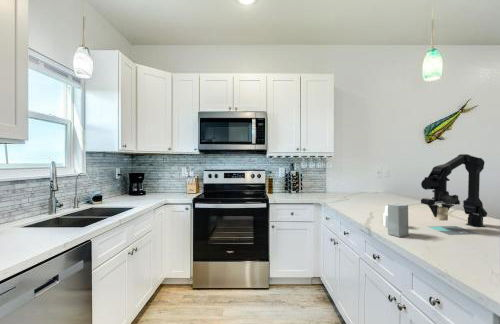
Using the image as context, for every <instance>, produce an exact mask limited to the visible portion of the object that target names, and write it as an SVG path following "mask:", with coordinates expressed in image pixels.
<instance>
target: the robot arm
mask: <svg viewBox="0 0 500 324" xmlns="http://www.w3.org/2000/svg"><path fill="white" fill-rule="evenodd" d="M461 165H464V167H465V171H466V172H467V173H468V177H467V178H468V182H467V183H468V185H467V186H468V187H467V198H466V199H464V200H463V201H462V202H463V205H462V207H463V211H464V213H465V215H468V217H467V222H466V223H465V225H467V226H470V227H473V228H485V227H486V225H484V218H486V217H487V215H488V212H487V210H486V209H485V208H484V205H483V201H482V200H481V199H480V180H481V179H480V177H481V176H480V174H481V173H482V171H483V170H484V168H485V160H484V159H483V158H482V157H477V156H473V155H471V154H466V153H461V154H458V155H457V156H456V157H453V158H452V159H451V160H449V161H447V162H446V163H444V164H443V163H442V164H439V165H435V166H433V167H432V169H431V171H430V173H429V174H428V176H427V177H426V176H425V177H424V178H423V180H422V181H421V182H420V183H421V188H422V189H423V190H431V191H432V193H433V197H432V198H428V197H427V198H426V197H425V198H424V197H423V198H421V200H420V204H422V205H426V206H428V207H429V209H430V211H431V212H432V213H433V215H434V217H436V216H437V207H438V206H440V205H439V204H441V206H443V207H447V208H448V211H450V209H451V208H452V207H454V206H455V205H456V206H457V205H458V206H459V205H461V201H460V199H459V195H457V194H453V195H452V194H451V195H450V192H449V191H447V186H448V185H447V182H449V181H451V180H450V179H449V176H450V175H451V174H452V171H453V170H455V169H457V168H458V167H460V166H461Z"/></svg>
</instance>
